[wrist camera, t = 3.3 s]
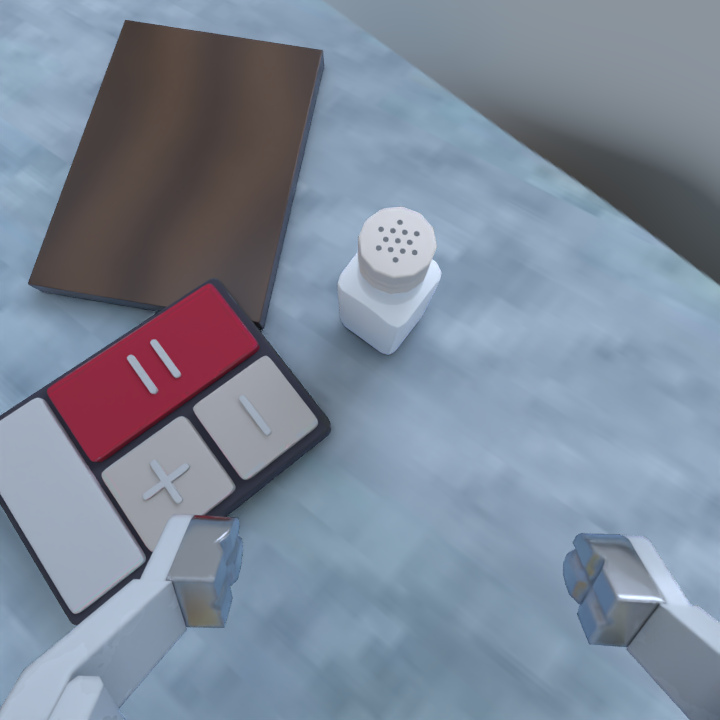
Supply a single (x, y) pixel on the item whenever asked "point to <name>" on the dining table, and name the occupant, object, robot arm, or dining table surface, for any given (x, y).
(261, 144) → the board
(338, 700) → the dining table surface
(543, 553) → the dining table surface
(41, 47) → the dining table surface
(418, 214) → the pepper shaker
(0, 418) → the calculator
